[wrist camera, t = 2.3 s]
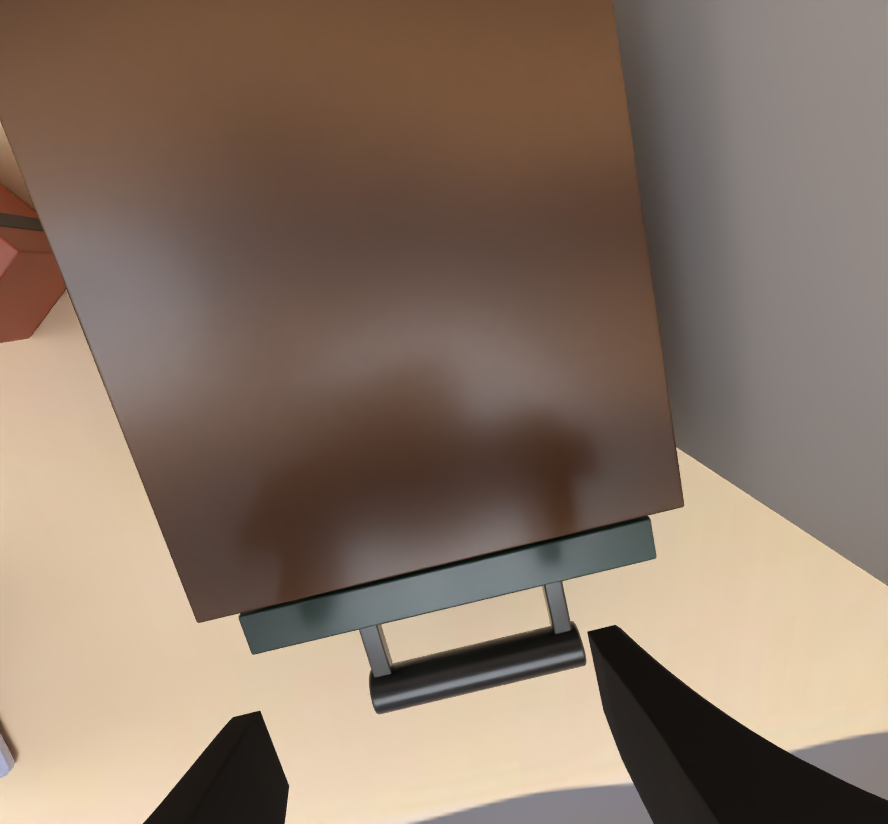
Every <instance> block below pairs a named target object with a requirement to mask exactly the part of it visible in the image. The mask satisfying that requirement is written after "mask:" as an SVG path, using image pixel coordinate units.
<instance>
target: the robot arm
mask: <svg viewBox="0 0 888 824" xmlns="http://www.w3.org/2000/svg"><path fill="white" fill-rule="evenodd" d="M587 633H588V637H589V642H590V647H591V652H592V657H593V662H594V667H595V671H596V676H597V681H598V686H599V691H600V696H601V700H602V705H603V710H604V713H605V716H606V718H607V721H608V724H609V726H610V729H611V732H612V735H613V737H614V740H615V742H616V745H617V748H618V750H619V753H620V756H621V758H622V760H623V762H624V765H625V767H626V769H627V771H628V773H629V775H630V777H631V779H632V781H633V783H634V785H635V787H636V789H637V791H638V793H639V795H640V797H641V799H642V801H643V803H644V805H645V807H646V809H647V811H648V813H649V815H650V817H651V819H652V821H653V823H654V824H888V800H885V799H883V798H880V797H878V796H876V795H874V794H871V793H869V792H866V791H864V790H862V789H860V788H858V787H856V786H854V785H851V784H849V783H847V782H845V781H843V780H841V779H839V778H837V777H835V776H833V775H831V774H829V773H827V772H825V771H823V770H821V769H819V768H817V767H815V766H813V765H811V764H809V763H807V762H805V761H803V760H801V759H799V758H797V757H796V756H794V755H792V754H790V753H789V752H787V751H785V750H783V749H781V748H780V747H778V746H776V745H774V744H773V743H771V742H769V741H768V740H766V739H765V738H763V737H761V736H760V735H758V734H756V733H755V732H753V731H751V730H750V729H748V728H747V727H745V726H744V725H742V724H740V723H739V722H737V721H736V720H734V719H733V718H731V717H730V716H728V715H727V714H726V713H724V712H723V711H721V710H720V709H718V708H717V707H716V706H714V705H713V704H711V703H710V702H709V701H707V700H706V699H704V698H703V697H702V696H700V695H699V694H698V693H696V692H695V691H694V690H692V689H691V688H690V687H688V686H687V685H686V684H685V683H683V682H682V681H681V680H680V679H678V678H677V677H676V676H675V675H673V674H672V673H671V672H669V671H668V670H667V669H666V668H665V667H663V666H662V665H661V664H660V663H659V662H657V661H656V660H655V659H654V658H653V657H652V656H650V655H649V654H648V653H647V652H646V651H645V650H644V649H642V648H641V647H640V646H639V645H638V644H637V643H636V642H635V641H634V640H633V639H632V638H630V637H629V636H628V635H627V634H626V633H625V632H624V631H623V630H622V629H621V628H619V627H618V626H616V625H613V626H609V627H605V628H601V629H597V630H592V631H588V632H587ZM14 764H15V762H14V759H13V757H12V755H11V753H10V751H9V749H8V747H7V745H6V743H5V741H4V739H3V737H2V735H1V734H0V778H2V777H4V776H6V775H7V774H8V773H9V772H10V771H11V769H12V768H13V767H14ZM288 791H289V784H288V782H287V779H286V777H285V774H284V771H283V769H282V766H281V764H280V761H279V758H278V756H277V753H276V751H275V748H274V745H273V743H272V740H271V738H270V735H269V733H268V730H267V727H266V725H265V722H264V720H263V717H262V714H261V712H260V711H257V712H253V713H248V714H244V715H240V716H236V717H233V718H232V719H231V720H230V721H229V722H228V723H227V724H226V725H225V727H224V728H223V729H222V730H221V731H220V732H219V734H218V735H217V736H216V737H215V738H214V740H213V741H212V742H211V743H210V744H209V746H208V747H207V748H206V749H205V750H204V752H203V753H202V754H201V755H200V757H199V758H198V759H197V760H196V761H195V763H194V764H193V765H192V766H191V768H190V769H189V770H188V771H187V772H186V774H185V775H184V776H183V777H182V778H181V780H180V781H179V782H178V783H177V784H176V786H175V787H174V788H173V789H172V790H171V792H170V793H169V794H168V795H167V797H166V798H165V799H164V800H163V801H162V803H161V804H160V805H159V806H158V807H157V808H156V810H155V811H154V812H153V813H152V814H151V815H150V816H149V817H148V819H147V820H146V821H145V822H144V823H143V824H285V817H286V808H287V799H288Z"/></svg>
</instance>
